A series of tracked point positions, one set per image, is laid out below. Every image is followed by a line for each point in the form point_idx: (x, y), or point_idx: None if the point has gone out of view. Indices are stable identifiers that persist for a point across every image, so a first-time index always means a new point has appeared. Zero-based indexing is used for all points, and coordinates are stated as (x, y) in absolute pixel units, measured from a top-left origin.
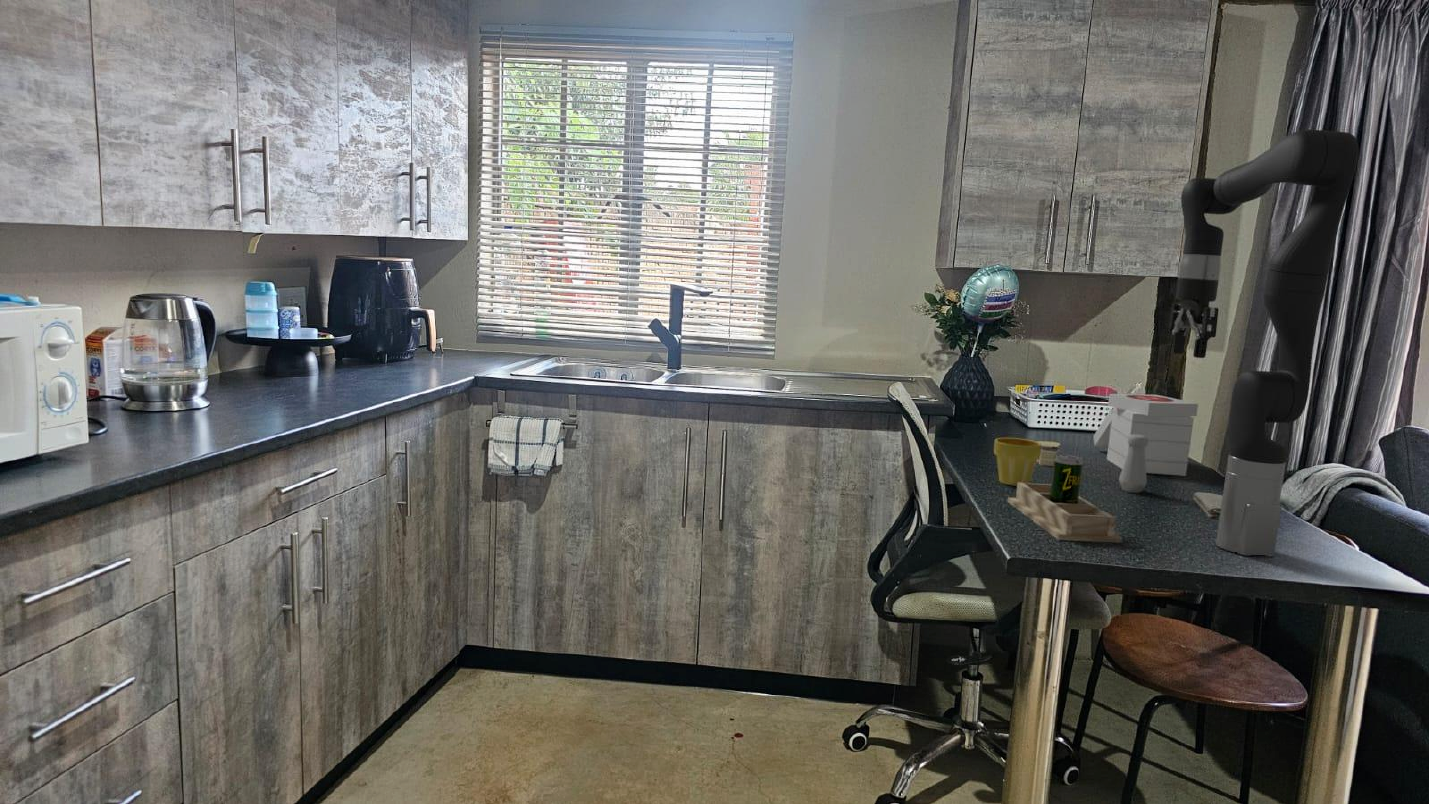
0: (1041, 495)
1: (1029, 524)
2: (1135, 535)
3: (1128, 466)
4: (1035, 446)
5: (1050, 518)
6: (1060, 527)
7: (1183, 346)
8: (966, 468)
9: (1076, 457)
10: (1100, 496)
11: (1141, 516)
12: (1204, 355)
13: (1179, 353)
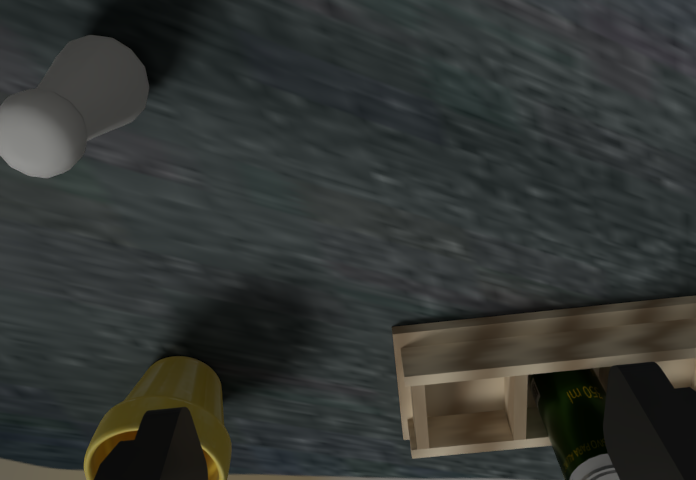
0: (544, 438)
1: None
2: (663, 241)
3: (110, 130)
4: (207, 447)
5: None
6: None
7: (166, 467)
8: (57, 455)
9: (616, 477)
10: (249, 203)
11: (467, 160)
12: (661, 379)
13: (193, 427)
